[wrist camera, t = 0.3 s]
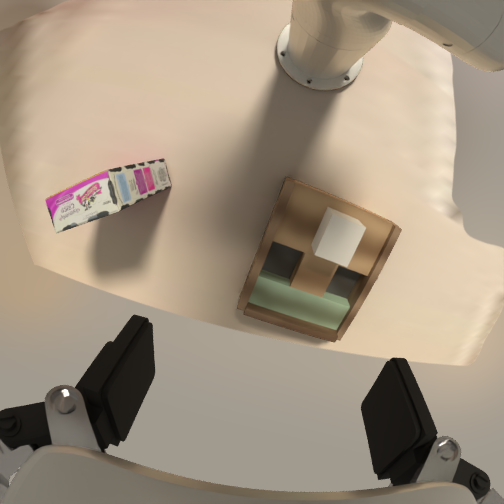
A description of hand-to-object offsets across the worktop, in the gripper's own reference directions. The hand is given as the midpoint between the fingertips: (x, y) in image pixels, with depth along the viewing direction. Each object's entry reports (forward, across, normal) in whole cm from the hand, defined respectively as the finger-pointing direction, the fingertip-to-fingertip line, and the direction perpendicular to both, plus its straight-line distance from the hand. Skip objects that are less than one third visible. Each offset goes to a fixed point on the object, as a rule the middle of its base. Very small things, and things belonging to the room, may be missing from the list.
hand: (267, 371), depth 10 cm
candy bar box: (+35, +22, +1) cm, 41 cm away
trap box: (+35, -8, +8) cm, 37 cm away
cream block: (+32, -9, +3) cm, 33 cm away
